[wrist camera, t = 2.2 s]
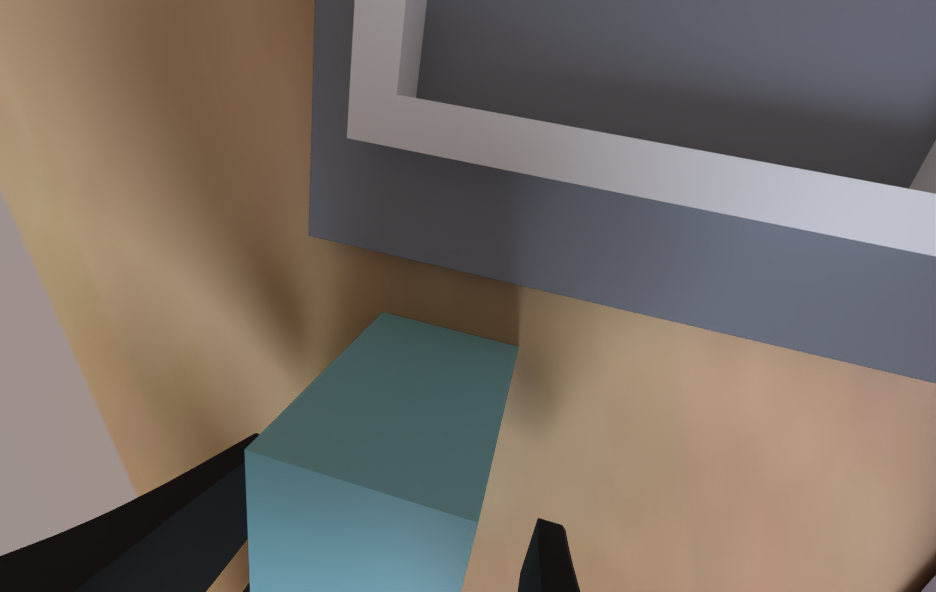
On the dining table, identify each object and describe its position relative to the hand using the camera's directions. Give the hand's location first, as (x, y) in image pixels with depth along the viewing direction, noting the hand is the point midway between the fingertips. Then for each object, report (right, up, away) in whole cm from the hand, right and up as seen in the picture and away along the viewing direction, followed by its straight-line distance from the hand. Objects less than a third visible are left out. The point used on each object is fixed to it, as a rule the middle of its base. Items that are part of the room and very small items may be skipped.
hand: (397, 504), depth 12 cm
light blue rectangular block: (+1, +1, +3) cm, 3 cm away
